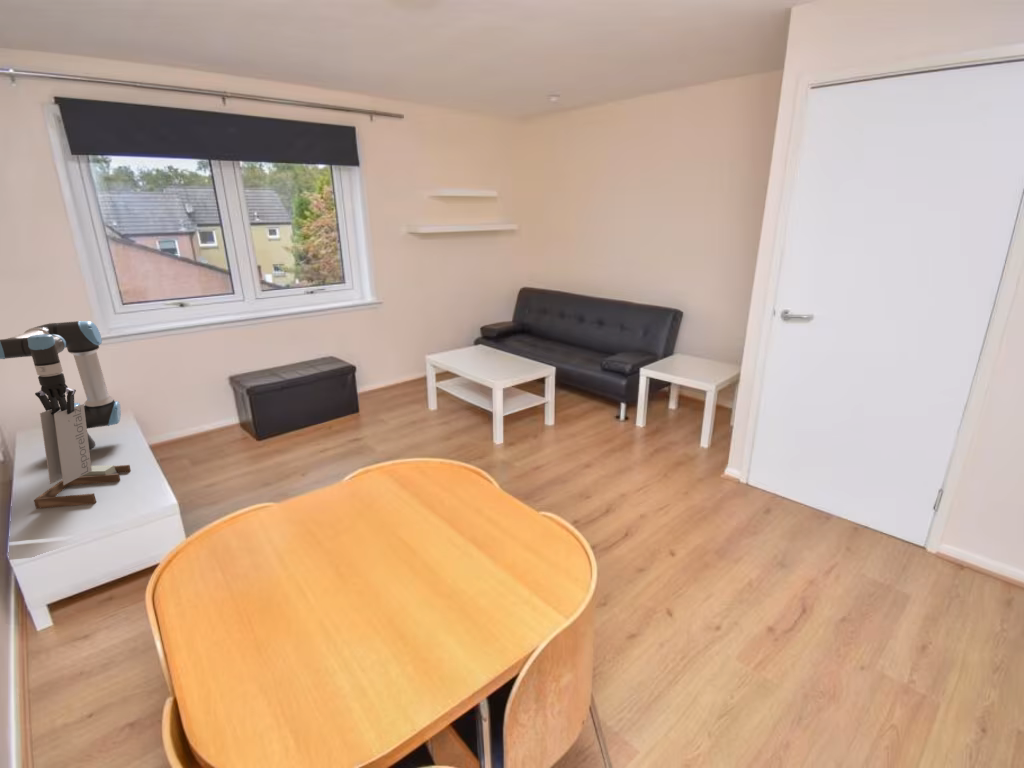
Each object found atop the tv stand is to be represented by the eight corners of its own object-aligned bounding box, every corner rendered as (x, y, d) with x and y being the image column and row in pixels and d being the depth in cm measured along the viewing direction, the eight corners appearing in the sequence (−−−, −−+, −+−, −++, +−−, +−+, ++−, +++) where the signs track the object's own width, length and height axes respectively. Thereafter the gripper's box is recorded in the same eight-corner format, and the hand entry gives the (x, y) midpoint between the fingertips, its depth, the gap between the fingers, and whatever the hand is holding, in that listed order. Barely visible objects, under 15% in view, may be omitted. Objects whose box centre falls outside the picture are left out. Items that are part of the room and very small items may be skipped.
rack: (80, 476, 226) (78, 468, 225) (131, 472, 230) (129, 464, 229) (36, 508, 199) (33, 499, 198) (94, 503, 203) (92, 494, 202)
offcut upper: (88, 472, 225) (86, 466, 224) (115, 471, 225) (114, 465, 224) (78, 477, 220) (76, 471, 219) (106, 477, 220) (104, 471, 219)
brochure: (64, 485, 201) (54, 414, 194) (49, 484, 201) (39, 413, 194) (91, 470, 215) (83, 403, 208) (78, 469, 215) (70, 402, 208)
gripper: (23, 377, 191) (40, 434, 198) (64, 375, 193) (79, 432, 200) (37, 372, 198) (53, 428, 205) (76, 370, 200) (90, 425, 207)
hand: (66, 430), depth 203 cm, fingers closed
